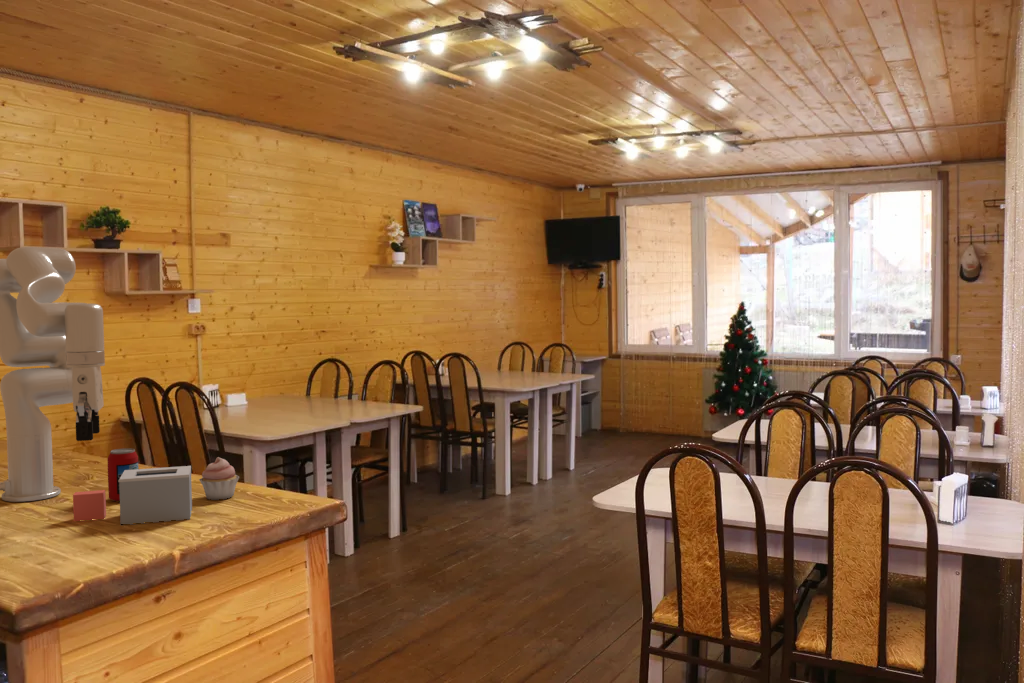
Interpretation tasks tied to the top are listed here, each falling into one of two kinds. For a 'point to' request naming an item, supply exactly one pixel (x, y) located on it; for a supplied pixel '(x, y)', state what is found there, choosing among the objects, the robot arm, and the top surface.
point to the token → (89, 505)
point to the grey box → (155, 494)
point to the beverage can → (119, 469)
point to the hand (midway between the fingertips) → (88, 436)
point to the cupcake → (219, 480)
